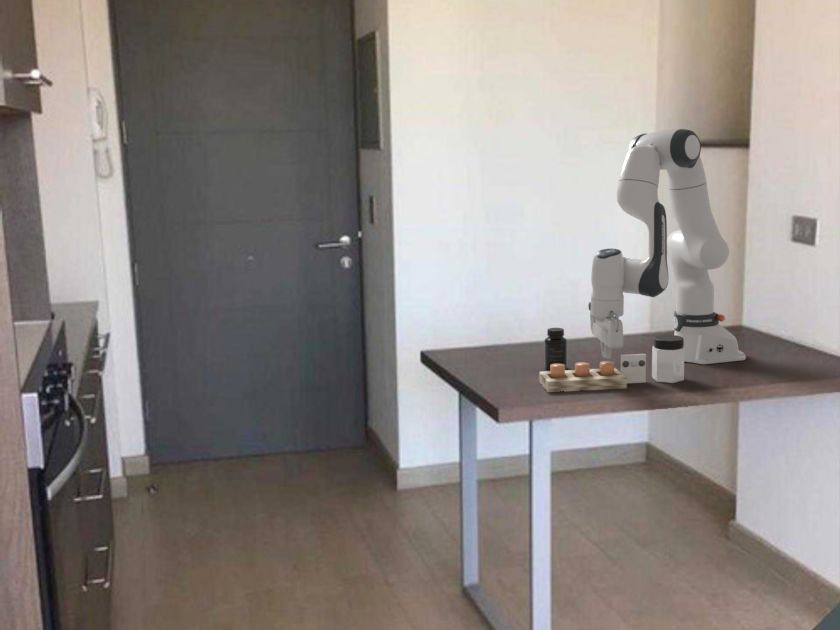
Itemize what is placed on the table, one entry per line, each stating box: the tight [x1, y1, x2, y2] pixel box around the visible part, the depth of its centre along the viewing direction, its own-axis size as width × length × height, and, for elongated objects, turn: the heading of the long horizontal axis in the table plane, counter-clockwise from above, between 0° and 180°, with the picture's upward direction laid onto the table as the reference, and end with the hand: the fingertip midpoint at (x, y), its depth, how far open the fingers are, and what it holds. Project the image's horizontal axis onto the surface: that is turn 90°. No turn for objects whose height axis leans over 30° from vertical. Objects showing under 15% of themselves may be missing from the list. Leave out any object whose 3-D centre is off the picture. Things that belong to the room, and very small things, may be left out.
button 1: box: [549, 364, 566, 378], centre depth 274 cm, size 4×4×3 cm
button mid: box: [574, 361, 591, 376], centre depth 275 cm, size 4×4×3 cm
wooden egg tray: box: [538, 367, 628, 393], centre depth 276 cm, size 22×11×3 cm, turn 95°
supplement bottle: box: [543, 327, 568, 371], centre depth 293 cm, size 7×7×12 cm
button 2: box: [599, 360, 615, 375], centre depth 276 cm, size 4×4×3 cm
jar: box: [651, 334, 685, 384], centre depth 278 cm, size 9×8×12 cm
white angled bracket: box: [620, 353, 647, 384], centre depth 277 cm, size 7×3×8 cm, turn 95°
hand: (606, 357), depth 275 cm, fingers closed
